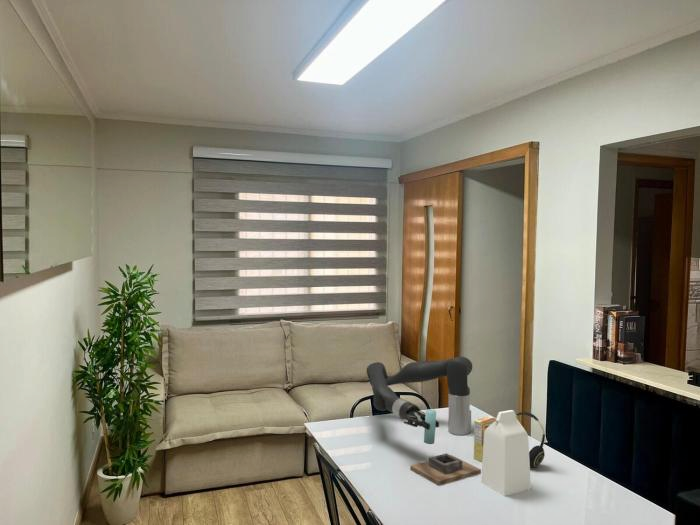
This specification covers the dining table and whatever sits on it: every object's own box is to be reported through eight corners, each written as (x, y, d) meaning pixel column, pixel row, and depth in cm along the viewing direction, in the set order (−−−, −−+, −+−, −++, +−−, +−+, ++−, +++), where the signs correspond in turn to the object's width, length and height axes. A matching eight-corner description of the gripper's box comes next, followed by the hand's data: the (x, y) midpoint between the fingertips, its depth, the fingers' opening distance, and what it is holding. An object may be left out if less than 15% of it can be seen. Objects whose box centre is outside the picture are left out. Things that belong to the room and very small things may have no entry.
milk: (504, 495, 186) (505, 418, 185) (481, 482, 196) (481, 409, 195) (530, 488, 191) (531, 413, 190) (507, 476, 201) (507, 404, 200)
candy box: (487, 453, 223) (487, 415, 222) (496, 456, 220) (496, 418, 219) (473, 459, 217) (473, 420, 217) (482, 462, 214) (482, 422, 213)
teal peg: (429, 438, 215) (431, 408, 214) (436, 442, 211) (438, 412, 210) (421, 440, 213) (423, 410, 211) (428, 444, 209) (430, 414, 208)
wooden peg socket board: (451, 458, 217) (451, 447, 217) (480, 473, 204) (480, 461, 204) (410, 469, 207) (410, 457, 207) (438, 485, 193) (438, 472, 193)
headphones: (516, 456, 220) (517, 406, 220) (550, 467, 209) (551, 415, 208) (503, 461, 215) (504, 410, 214) (537, 473, 204) (538, 419, 203)
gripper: (419, 416, 228) (447, 432, 214) (391, 422, 221) (418, 439, 206) (420, 399, 227) (448, 413, 213) (392, 404, 220) (419, 419, 205)
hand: (433, 425), depth 210 cm, fingers closed on teal peg, 4 cm apart
